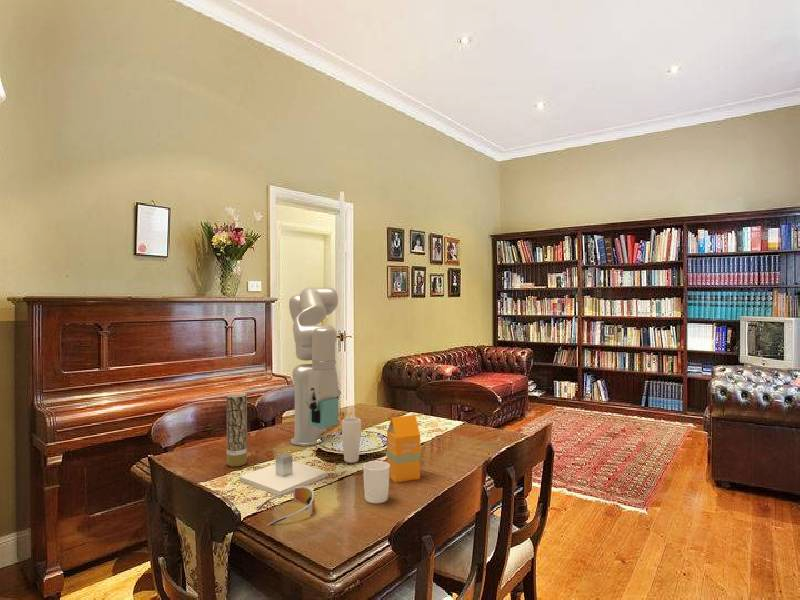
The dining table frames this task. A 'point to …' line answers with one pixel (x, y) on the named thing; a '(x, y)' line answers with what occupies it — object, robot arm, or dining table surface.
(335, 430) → the dining table surface
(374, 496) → the white cup
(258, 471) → the post board
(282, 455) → the grey upright block
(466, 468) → the dining table surface
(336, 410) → the mint green cube
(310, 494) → the sunglasses
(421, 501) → the dining table surface
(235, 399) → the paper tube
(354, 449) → the drinking glass
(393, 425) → the orange juice
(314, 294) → the robot arm
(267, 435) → the dining table surface
